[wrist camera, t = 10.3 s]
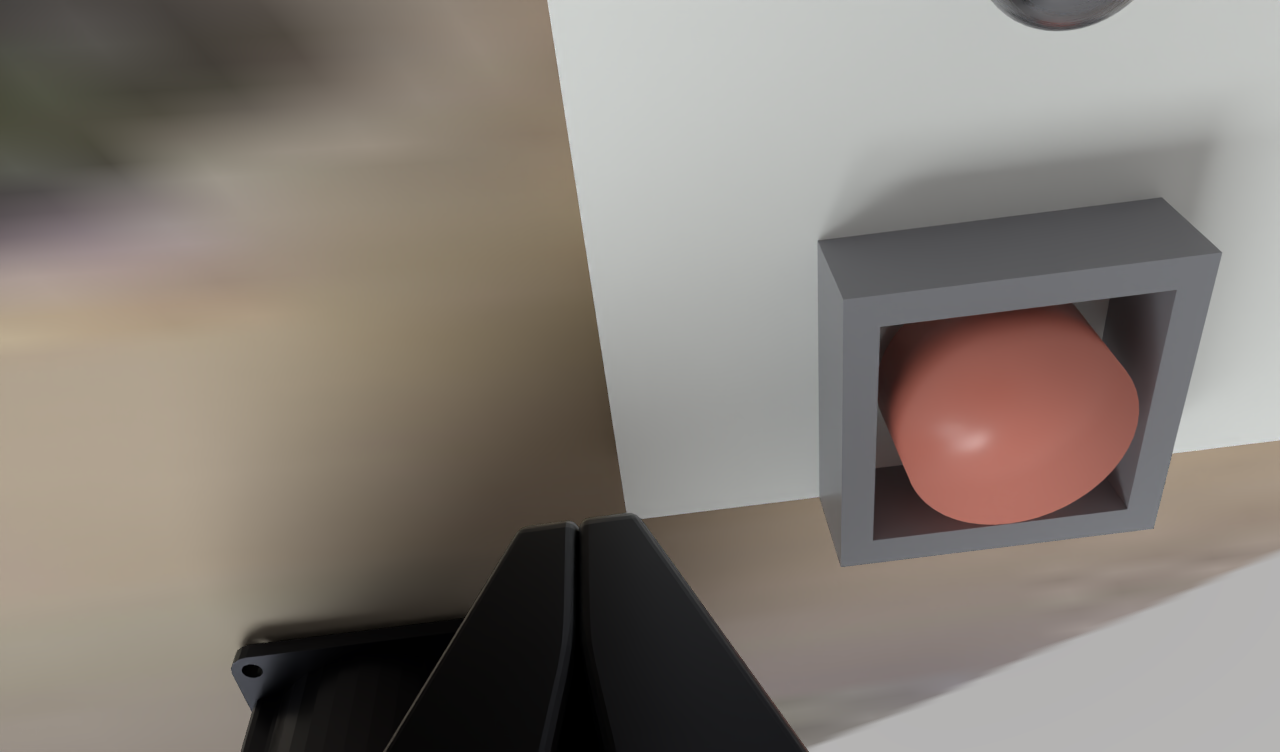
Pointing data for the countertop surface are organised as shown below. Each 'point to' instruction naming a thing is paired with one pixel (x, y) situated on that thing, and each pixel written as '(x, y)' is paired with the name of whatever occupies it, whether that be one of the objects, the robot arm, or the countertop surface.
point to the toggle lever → (1060, 12)
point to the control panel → (915, 234)
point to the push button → (1006, 411)
